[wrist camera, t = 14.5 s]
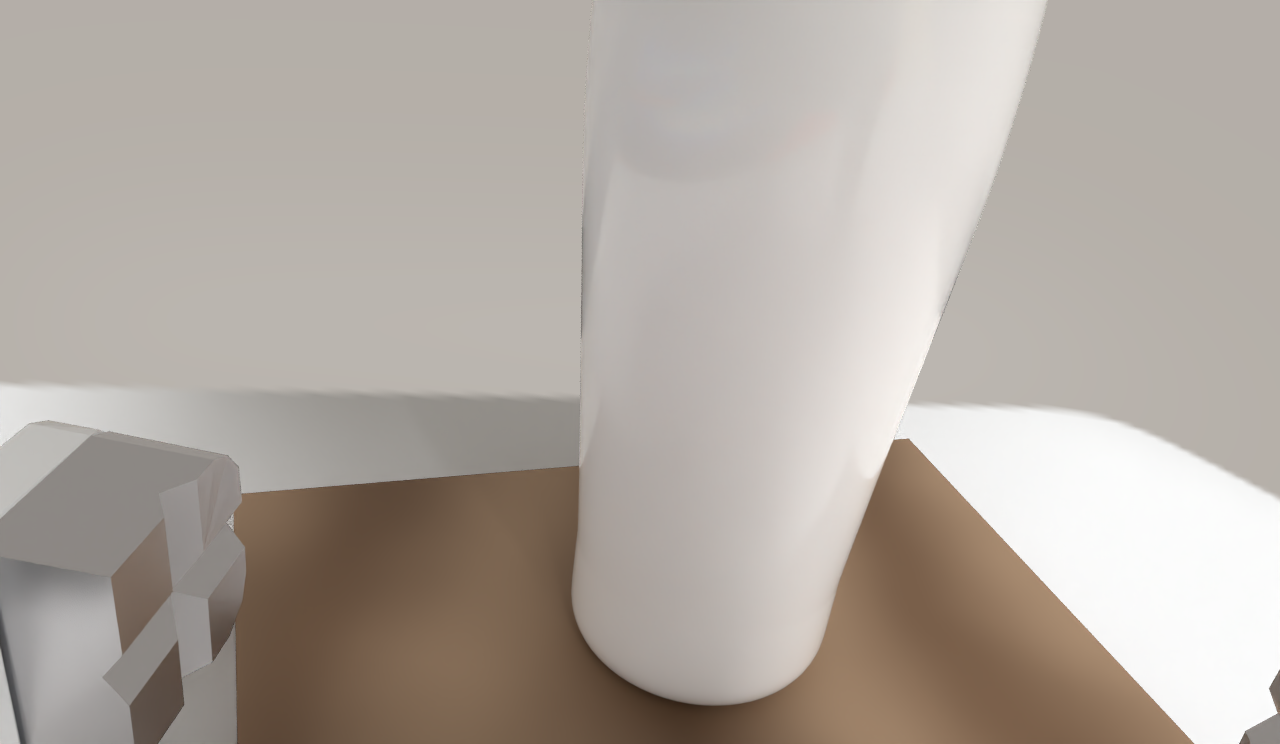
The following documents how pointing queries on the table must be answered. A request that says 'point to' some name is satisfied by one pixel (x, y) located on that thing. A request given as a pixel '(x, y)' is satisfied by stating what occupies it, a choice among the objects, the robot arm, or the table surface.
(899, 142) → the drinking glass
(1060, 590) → the table surface
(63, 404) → the table surface
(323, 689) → the walnut board
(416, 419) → the table surface
